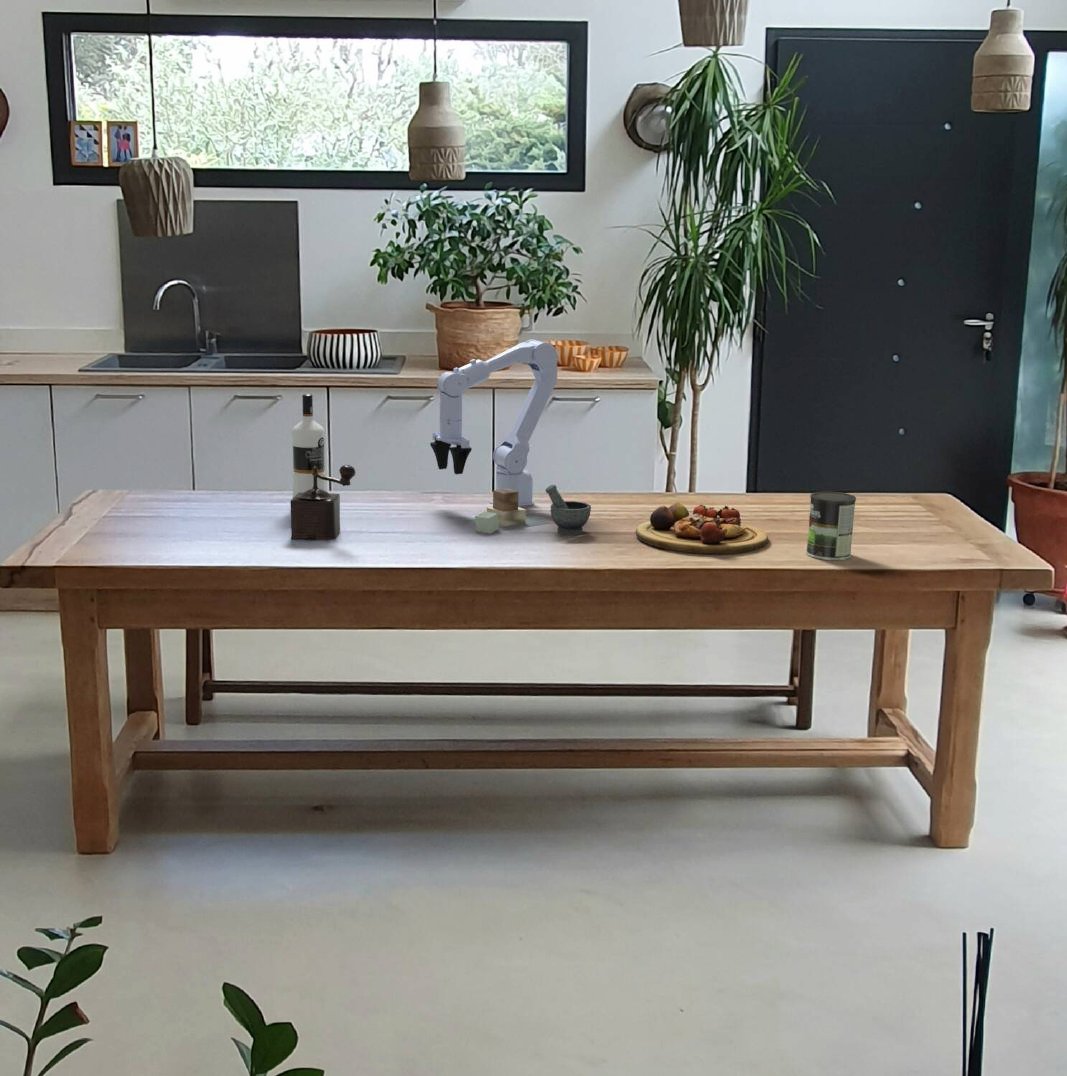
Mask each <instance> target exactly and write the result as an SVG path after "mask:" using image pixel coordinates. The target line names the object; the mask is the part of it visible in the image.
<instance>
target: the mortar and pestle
mask: <svg viewBox="0 0 1067 1076" xmlns="http://www.w3.org/2000/svg"><path fill="white" fill-rule="evenodd" d="M545 492H546V493H547V494H548V497H549V499H550V500H551V504H550V517H551V518H552V521H553V522H554V524H555V525H556V526H557V533H559V534H561V535H567V536H572V535H573V536H575V535H582V533H583V532H584V531H583V530H584V529H583V527H584V526H585V525H587V522H588V520H589V519H590V516H591V511H592V510H591V509H592V505H590V504H589V503H587V502H583V501H576V500H575V501H574V500H572V501H571V500H568V501H567V500H566V501H564V499H563V497H562V495H561V494H560V492H559V491H558V489H557V486H556V484H550V485H549V486H547V487H546V489H545Z"/></svg>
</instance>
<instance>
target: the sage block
mask: <svg viewBox="0 0 1067 1076" xmlns="http://www.w3.org/2000/svg"><path fill="white" fill-rule="evenodd" d="M474 519H475V523H476V526H475V531H476V532H479V533H485V534H492V533H495V532H494V531H496V530H498V529H499V522H498V513H490V512H487V511H484V512H481V513H479V514H476V515H474Z"/></svg>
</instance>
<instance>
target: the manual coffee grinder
mask: <svg viewBox="0 0 1067 1076" xmlns="http://www.w3.org/2000/svg"><path fill="white" fill-rule="evenodd" d="M312 470H313V473H312V476H313V488H312V489H309V490H307V491H305V492H304V493H303V492H299V493H298V494H297V495H296V496H295V497H294V498H293V497H292V498H293V499H290V528H291V529H290V530H291V531H290V532H291V537H290V539H291V540H295V541H297V540H299V541H333V540H335V539H337V538H338V537H339V535H340V532H341V516H340V515H341V496H340V493H333V492H331V493H330V492H328V491H327V490H326V491H324V490H322V489H318V487H317V477H318V478H320V479H323V480H325V481H329V482H332V483H337V484H339V485H342V487H346V486H351V485H352V484H351V479H353V477H355V476H356V469H355V468H354V467H353V466H352V465H350V464H344V465H341V466H340V467H339V470H338V471H339V475H340V479H337V478H334V477H330V476H326V475H325V476H321V475H318V473H317V471H318V468H317V467H313V469H312Z"/></svg>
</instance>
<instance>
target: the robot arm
mask: <svg viewBox="0 0 1067 1076" xmlns="http://www.w3.org/2000/svg"><path fill="white" fill-rule="evenodd" d="M559 359H560V357H559V354H558V353H557V349H556V348H555V346H554V345H553V344H552V343H550V342H544V341H540V340H538V339H534V338H532V339H528V340H526V341H525V342H524V341H523V342H520V343H518V344H516V345H514V346H513V347H510V348H508V349H507V350H504V351H503V352H501V353H499V354H497V355H495V356H493V357H491V358H489V359H487V360H485V361H484V360H482V359H474V358H473V359H470V360H469V363H468V364H465V365H463V366H461V367H459V368H458V367H454V368H453V372H451V371H446V372H443V373H441V375H440V376H439V377H438V379H437V382H436V383H435V384H436V387H437V390H438V392H439V431H436V432H432V440H433V441H432V442H430V443H429V445H430V447H431V448H432V451H433V453H434V456H435V459H436V464H437V467H438V469H439V470H446V469H447V468H448V465H449V463H448V462H449V454H451V458H452V462H453V473H454V475H462V474H463V473H464V470H465V466H466V463H467V459H468V458H469V455H470V453H471V452H472V447H471V446H470V439H468V438H466V437H464V436H463V395H464V393H465V392H466V390H468V389H470V388H472V387H475V386H477V385H479V384H482V383H483V382H486V381H487V380H488V381H489V379H490V376H491V374H492V373H494V372H497V371H499V370H502V369H504V368H506V367H509V366H511V365H514V364H516V363H523V364H528V366H529V367H530V369H531V371H532V373H533V376H534V378H535V379H534V382H533V384H532V386H531V388H530V390H529V392H528V394H527V396H526V398H525V401H524V403H523V405H522V407H521V410H520V411H519V413H518V415H517V417H516V420H515V423H514V424H513V426H512V428H511V431H510V432H509V434H507V435H506V436H505V437H503V439H502V442H501V443H500V444H499V445H497V447H495V449H494V450H493V453H492V457H493V462H494V463H495V464H496V466H497V467H496V469H495V490H500V489H507V488H508V489H511V490H515V491H518V507H525V506H530V505H531V506H532V505H535V502H533V494H534V493H533V491H534V490H533V488H534V487H533V486H534V482H533V477H532V474H531V472H529V470H527V469H525V468H526V466H527V463H528V454H529V453H530V452H529V451H530V443H529V441H530V439H531V437H532V435H533V433H534V430H535V429H536V426H537V424H538V422H539V420H540V419H541V416H542V414H543V412H544V409H545V407H546V406H547V403H548V401H549V399H550V397H551V395H552V392H553V390H554V389H555V386H556V385H557V382H558V362H559ZM452 445H453V447H452ZM488 503H489V504H492V505H493V500H489V501H488Z"/></svg>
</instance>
